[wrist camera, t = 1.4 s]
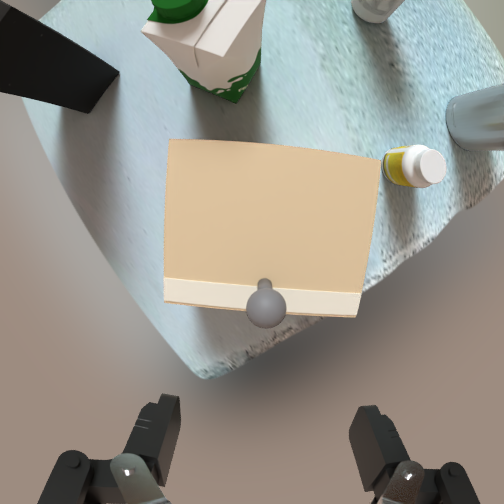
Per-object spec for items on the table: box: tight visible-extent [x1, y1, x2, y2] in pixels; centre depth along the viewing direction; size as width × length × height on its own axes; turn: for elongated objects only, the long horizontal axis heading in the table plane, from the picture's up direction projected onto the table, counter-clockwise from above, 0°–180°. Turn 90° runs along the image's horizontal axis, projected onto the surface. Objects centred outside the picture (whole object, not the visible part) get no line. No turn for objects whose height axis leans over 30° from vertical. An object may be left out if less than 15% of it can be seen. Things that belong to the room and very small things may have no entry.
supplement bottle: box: [382, 145, 446, 188], centre depth 33 cm, size 5×5×10 cm
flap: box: [164, 139, 381, 328], centre depth 24 cm, size 20×16×7 cm
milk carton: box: [141, 0, 266, 103], centre depth 25 cm, size 9×9×20 cm
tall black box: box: [0, 0, 119, 114], centre depth 21 cm, size 8×8×28 cm
